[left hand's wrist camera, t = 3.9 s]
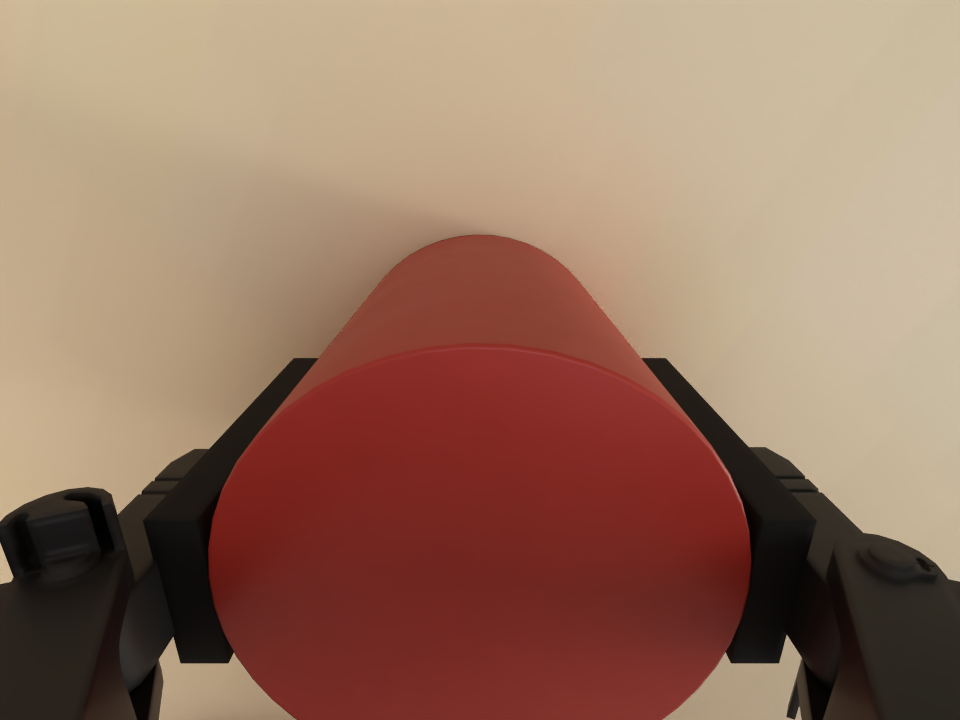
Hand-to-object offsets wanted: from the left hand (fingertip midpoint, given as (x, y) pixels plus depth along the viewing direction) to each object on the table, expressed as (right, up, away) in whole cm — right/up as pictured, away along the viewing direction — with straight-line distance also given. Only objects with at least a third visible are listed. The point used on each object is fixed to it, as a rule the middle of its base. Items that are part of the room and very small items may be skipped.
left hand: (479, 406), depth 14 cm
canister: (0, +1, +3) cm, 4 cm away
